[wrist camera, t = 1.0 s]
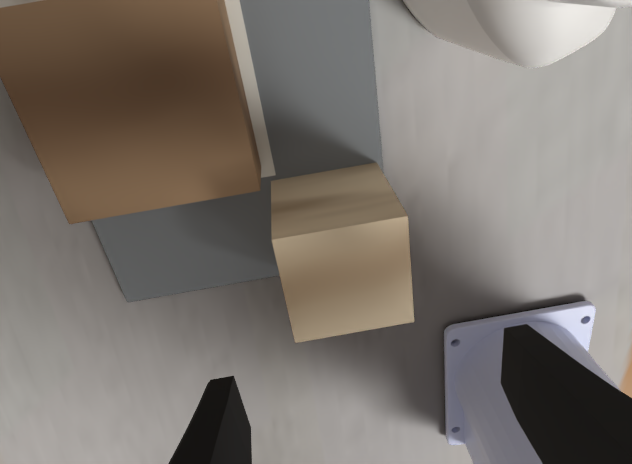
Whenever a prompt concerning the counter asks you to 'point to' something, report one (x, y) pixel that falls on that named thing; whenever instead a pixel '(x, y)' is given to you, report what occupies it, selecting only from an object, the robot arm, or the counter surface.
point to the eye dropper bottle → (517, 26)
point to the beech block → (341, 252)
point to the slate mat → (261, 145)
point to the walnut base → (130, 102)
